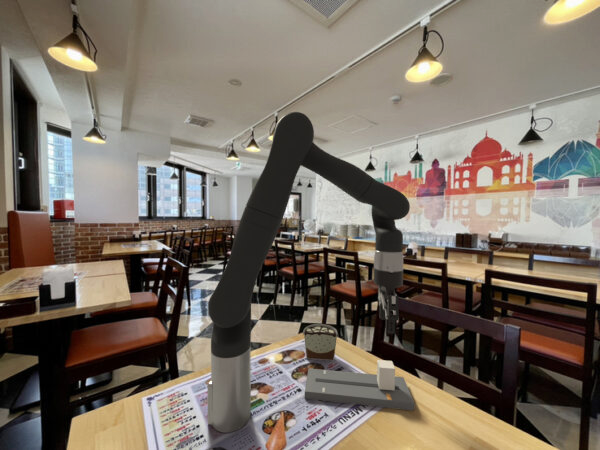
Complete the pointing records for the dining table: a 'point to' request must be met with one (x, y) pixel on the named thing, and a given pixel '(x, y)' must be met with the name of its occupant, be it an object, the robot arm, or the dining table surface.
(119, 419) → the dining table surface
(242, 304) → the robot arm
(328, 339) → the food container
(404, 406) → the fader board
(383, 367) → the slider handle
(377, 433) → the dining table surface
